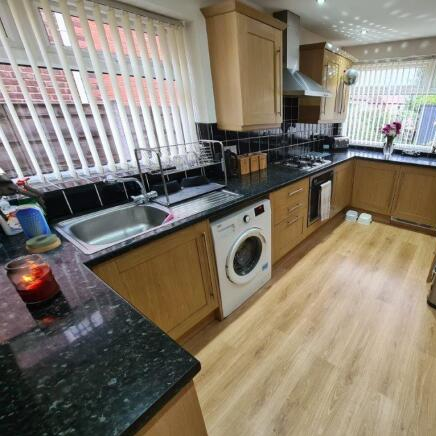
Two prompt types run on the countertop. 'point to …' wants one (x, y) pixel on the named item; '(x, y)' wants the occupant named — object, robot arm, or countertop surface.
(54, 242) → the green frosted donut
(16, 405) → the countertop surface
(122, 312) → the countertop surface
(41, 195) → the robot arm
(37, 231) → the blue canister
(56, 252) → the countertop surface
